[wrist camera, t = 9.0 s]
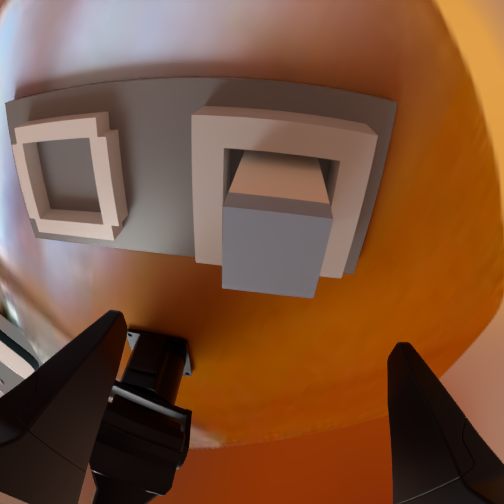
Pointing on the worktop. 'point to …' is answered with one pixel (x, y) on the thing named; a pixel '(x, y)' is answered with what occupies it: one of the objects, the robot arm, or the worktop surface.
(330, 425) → the worktop surface
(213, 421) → the worktop surface
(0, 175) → the worktop surface
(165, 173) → the panel
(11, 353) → the external hard drive
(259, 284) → the plug
